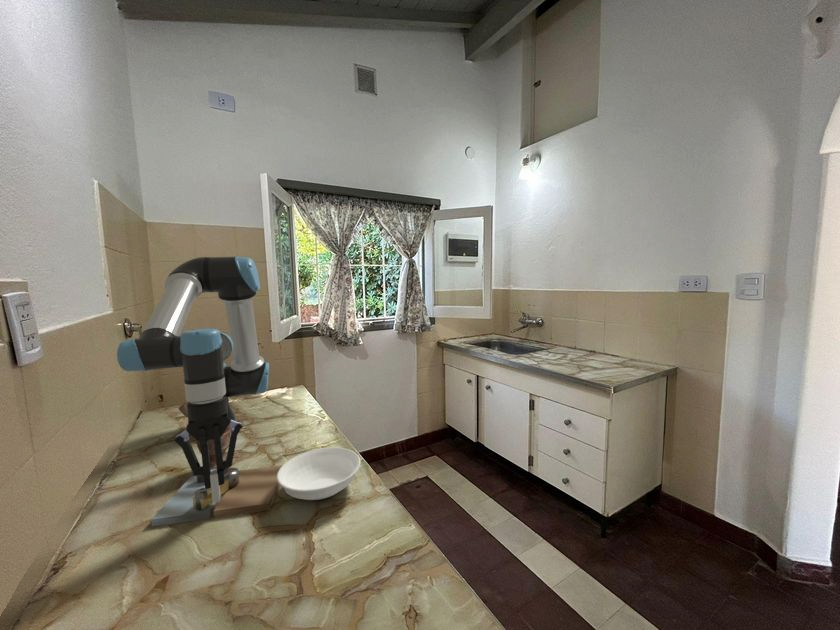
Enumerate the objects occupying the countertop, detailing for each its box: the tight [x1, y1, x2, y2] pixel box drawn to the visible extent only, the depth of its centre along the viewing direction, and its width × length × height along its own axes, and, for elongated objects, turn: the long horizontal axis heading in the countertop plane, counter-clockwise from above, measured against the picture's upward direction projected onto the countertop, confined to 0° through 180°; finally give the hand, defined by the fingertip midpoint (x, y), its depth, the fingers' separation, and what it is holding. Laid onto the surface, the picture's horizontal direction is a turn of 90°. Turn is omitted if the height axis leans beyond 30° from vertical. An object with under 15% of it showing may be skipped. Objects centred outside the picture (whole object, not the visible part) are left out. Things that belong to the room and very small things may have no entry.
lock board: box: [150, 464, 284, 527], centre depth 82 cm, size 17×24×5 cm
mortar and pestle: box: [178, 402, 231, 469], centre depth 94 cm, size 12×9×20 cm
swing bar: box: [193, 467, 239, 510], centre depth 80 cm, size 12×4×4 cm, turn 171°
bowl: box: [277, 447, 362, 501], centre depth 82 cm, size 20×20×6 cm
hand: (216, 499), depth 76 cm, fingers closed
